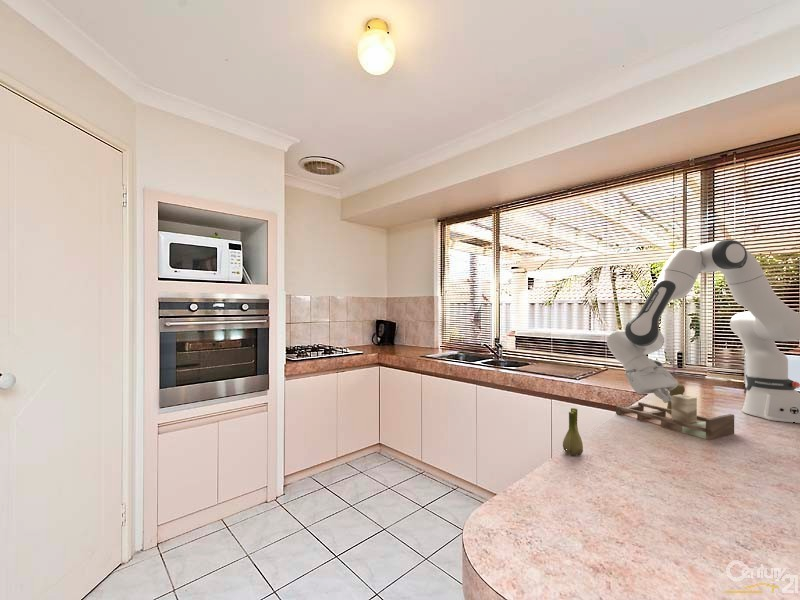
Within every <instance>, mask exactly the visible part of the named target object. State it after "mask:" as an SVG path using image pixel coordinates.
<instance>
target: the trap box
mask: <svg viewBox="0 0 800 600" xmlns="http://www.w3.org/2000/svg"><path fill="white" fill-rule="evenodd" d="M645 408H649V409H653V411H646V410H644V409H645ZM667 412H669V413H668V414H670V413H671V409H667V408H665V407H661V406H657V405H653V404H650V403H645V402H637V404H636V405H630V406H629V405H628V406H625V407H624V406H620V405H615V415H619V416H626V417H628V418H632V419H635V420H637V421H639V420H640V422H647V423H650V424H654V425H657V426H660V428H661V427H662V428H665V429H669V430H673V431H676V432H679V433H683V434H687V435H690V436H694V437H698V438H702V439H705V440H708V441H711V440H714V439H715V440H716V439H720V438H722V437H726V436H727V437H728V436H732V435H735V414H733V413H729V414H725V415H724V414H723V415H719V416H715V417H714V416H713V417H704V416H701V415H697V422H694V423H689V424H688V423H684V422H680V421H676V420H672V419H671V416H667Z"/></svg>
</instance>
